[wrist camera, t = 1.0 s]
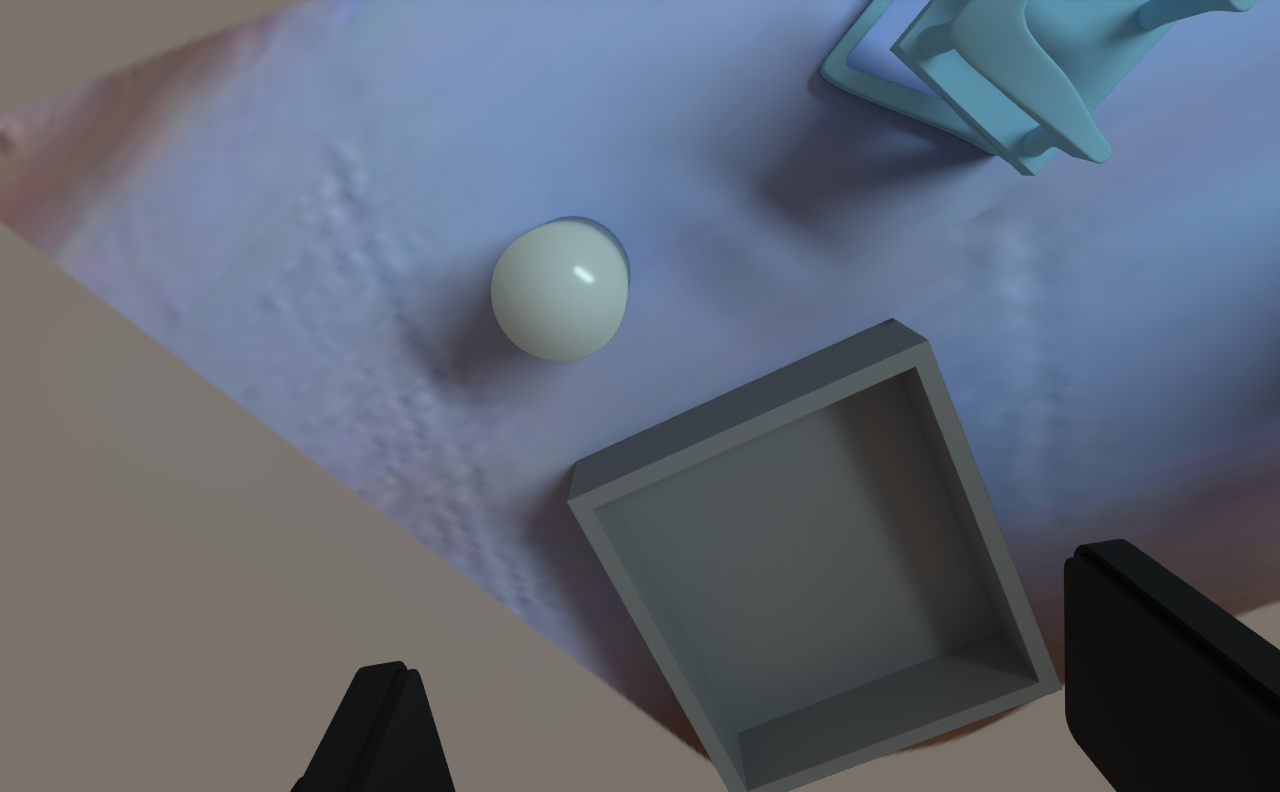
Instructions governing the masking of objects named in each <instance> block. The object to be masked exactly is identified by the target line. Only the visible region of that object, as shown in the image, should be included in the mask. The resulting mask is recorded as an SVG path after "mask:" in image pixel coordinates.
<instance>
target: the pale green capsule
mask: <svg viewBox="0 0 1280 792" xmlns="http://www.w3.org/2000/svg"><path fill="white" fill-rule="evenodd" d="M629 282H630V266H629V261H628V257H627V254H626V252H625V249H624V247H623V246H622V244H621V242H620V241H619V239H618V238H617V237H616V236H615V235H614V234H613V233H612V232H611V231H610V230H609V229H608V228H606V227H605V226H604V225H602V224H600V223H599V222H596V221H594V220H592V219H588V218H585V217H578V216H567V217H560V218H557V219H554V220H551V221H549V222H547V223H545V224H543V225H541V226H539V227H537V228H535V229H534V230H532V231H530V232H528V233H526V234H524V235H523V236H521V237H519V238H518V239H517V240H515V241H514V242H513V243H512V244H511V245H510V246H509V247H508V248H507V249H506V250H505V251H504V253H503V254H502V256H501V257H500V259H499V261H498V263H497V265H496V267H495V270H494V273H493V277H492V282H491V301H492V307H493V311H494V314H495V317H496V319H497V321H498V323H499V325H500V327H501V328H502V330H503V332H504V333H505V334H506V335H507V337H508V338H509V339H510V340H511V341H512V342H513V343H514V344H515V345H516V346H518V347H519V348H521V349H522V350H523V351H525V352H527V353H529V354H530V355H533V356H535V357H538V358H541V359H545V360H549V361H573V360H577V359H581V358H584V357H586V356H589V355H591V354H592V353H594V352H596V351H598V350H599V349H600V348H602V347H603V346H604V345H605V344H606V343H607V342H608V341H609V340H610V339H611V338H612V337H613V335H614V334H615V333H616V331H617V329H618V327H619V326H620V323H621V321H622V319H623V315H624V312H625V307H626V301H627V295H628V289H629Z"/></svg>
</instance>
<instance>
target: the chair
mask: <svg viewBox="0 0 1280 792" xmlns="http://www.w3.org/2000/svg"><path fill="white" fill-rule="evenodd" d="M893 1H894V0H872V1H871V2H870V4H869V5H868V6H867V8H866V9H865V10H864V11H863V13H862V14H861V15H860V16H859V18H858V19H857V20H856V21H855V23H854V24H853V25H852V26H851V28H850V29H849V30H848V31H847V33H846V34H845V35H844V36H843V38H842V39H841V40H840V41H839V43H838V44H837V45H836V46H835V48H834V49H833V50H832V51H831V53H830V54H829V55H828V56H827V58H826V59H825V60H824V62H823V63H822V65H821V69H820V73H821V75H822V77H823V78H824V79H826V80H827V81H828V82H829V83H831V84H833V85H835V86H836V87H838V88H840V89H842V90H844V91H846V92H848V93H851V94H853V95H855V96H858V97H860V98H863V99H865V100H867V101H870V102H872V103H875V104H877V105H880V106H882V107H885V108H887V109H890V110H893V111H895V112H898V113H900V114H903V115H905V116H908V117H911V118H913V119H916V120H918V121H921V122H923V123H926V124H928V125H931V126H933V127H936V128H938V129H941V130H943V131H945V132H948V133H950V134H953V135H955V136H957V137H959V138H961V139H963V140H965V141H967V142H969V143H971V144H973V145H974V146H976V147H978V148H980V149H982V150H984V151H985V152H987V153H990V154H993V155H996V154H997V155H998V156H999V157H1001V158H1002V159H1004V160H1005V161H1007V162H1008V163H1010V164H1011V165H1012V166H1013V167H1014V168H1015V169H1016V170H1017V171H1018V172H1019V173H1021V174H1022V175H1025V176H1035V175H1036V174H1037V173H1038V172H1039V171H1040V170H1041V169H1042V168H1043V167H1044V165H1045V164H1046V163H1047V162H1048V161H1049V160H1050V159H1051V158H1052V157H1053V156H1054V155H1055V153H1056V152H1057V151H1058V150H1059V149H1061V150H1062V151H1064V152H1066V153H1067V154H1069V155H1070V156H1072V157H1076V158H1080V159H1084V160H1088V161H1091V162H1095V163H1098V164H1100V163H1105V162H1107V161H1108V160H1109V159H1110V157H1111V148H1110V146H1109V144H1108V143H1107V141H1106V140H1105V138H1104V137H1103V136H1102V134H1101V133H1100V131H1099V130H1098V128H1097V127H1096V125H1095V124H1094V122H1093V120H1092V118H1091V116H1090V114H1091V112H1092V111H1093V110H1094V109H1095V108H1096V107H1097V106H1098V105H1099V104H1100V103H1101V102H1102V100H1103V99H1104V98H1105V97H1106V96H1107V95H1108V94H1109V93H1110V92H1111V91H1112V90H1113V88H1114V87H1115V86H1116V85H1117V84H1118V83H1119V82H1120V81H1121V80H1122V79H1123V78H1124V77H1125V76H1126V75H1127V74H1128V72H1129V71H1130V70H1131V69H1132V68H1133V67H1134V66H1135V65H1136V64H1137V63H1138V62H1139V61H1140V60H1141V59H1142V58H1143V57H1144V56H1145V55H1146V54H1147V53H1148V52H1149V51H1150V50H1151V49H1152V48H1153V47H1154V46H1155V44H1156V43H1157V42H1158V41H1159V40H1160V39H1161V38H1162V37H1163V36H1164V35H1165V34H1166V32H1167V31H1168V30H1169V29H1170V28H1171V27H1172V26H1173V25H1174V24H1175V23H1176V22H1177V20H1180V19H1183V18H1187V17H1190V16H1194V15H1198V14H1201V13H1205V12H1209V11H1231V12H1244V11H1248V10H1249V9H1251V8H1252V7H1253V5H1254V3H1255V0H930V1H929V2H928V4H927V5H926V6H925V7H924V8H923V10H922V11H921V12H920V13H919V14H918V15H917V17H916V18H915V19H914V20H913V21H912V23H911V24H910V25H909V26H908V28H907V29H906V30H905V31H904V32H903V34H902V35H901V36H900V37H899V39H898V40H897V41H896V42H895V43H894V45H893V46H892V47H891V48H890V49H889V50H890V51H891V52H892V53H894V54H895V55H896V56H897V57H898V58H899V59H900V60H901V61H902V62H903V63H904V64H905V65H906V66H907V67H908V68H909V69H910V70H912V71H913V72H914V73H915V74H916V75H917V76H918V77H919V78H920V79H921V80H923V81H924V82H925V83H926V84H927V85H928V86H929V87H931V88H932V89H933V90H934V91H935V92H936V93H937V94H938V95H939V96H940V97H941V98H942V99H943V100H942V99H939V98H936V97H933V96H930V95H928V94H925V93H922V92H919V91H916V90H913V89H910V88H907V87H904V86H901V85H898V84H895V83H893V82H890V81H887V80H884V79H881V78H878V77H875V76H872V75H869V74H866V73H863V72H861V71H858V70H855V69H852V68H850V67H849V66H848V65H847V64H846V63H845V62H846V60H847V57H848V55H849V54H850V53H851V52H852V50H853V49H854V48H855V47H856V46H857V44H858V43H859V42H860V41H861V40H862V38H863V37H864V36H865V35H866V34H867V32H868V31H869V30H870V29H871V28H872V26H873V25H874V24H875V23H876V21H877V20H878V19H879V18H880V17H881V15H882V14H883V13H884V12H885V11H886V9H887V8H888V7H889V6H890V5H891V3H892V2H893Z"/></svg>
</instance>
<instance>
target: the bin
mask: <svg viewBox="0 0 1280 792" xmlns="http://www.w3.org/2000/svg"><path fill="white" fill-rule="evenodd" d="M567 503H568V505H569V506H570V508H571V510H572V512H573V514H574V515H575V517H576V519H577V521H578V522H579V524H580V526H581V528H582V530H583V531H584V533H585V535H586V537H587V539H588V540H589V542H590V544H591V546H592V548H593V549H594V551H595V553H596V555H597V556H598V558H599V560H600V562H601V564H602V565H603V567H604V569H605V571H606V573H607V574H608V576H609V578H610V580H611V581H612V583H613V585H614V587H615V589H616V590H617V592H618V594H619V596H620V598H621V599H622V601H623V603H624V605H625V606H626V608H627V610H628V612H629V614H630V615H631V617H632V619H633V621H634V623H635V624H636V626H637V628H638V630H639V632H640V633H641V635H642V637H643V639H644V640H645V642H646V644H647V646H648V648H649V649H650V651H651V653H652V655H653V657H654V658H655V660H656V662H657V664H658V665H659V667H660V669H661V671H662V673H663V674H664V676H665V678H666V680H667V682H668V683H669V685H670V687H671V689H672V690H673V692H674V694H675V696H676V698H677V699H678V701H679V703H680V705H681V707H682V708H683V710H684V712H685V714H686V716H687V717H688V719H689V721H690V723H691V724H692V726H693V728H694V730H695V732H696V733H697V735H698V737H699V739H700V741H701V742H702V744H703V746H704V748H705V749H706V751H707V753H708V755H709V757H710V758H711V760H712V762H713V764H714V766H715V767H716V769H717V771H718V773H719V774H720V776H721V778H722V780H723V782H724V783H725V785H726V787H727V789H728V790H729V792H787V791H790V790H792V789H795V788H798V787H800V786H803V785H806V784H808V783H811V782H814V781H817V780H819V779H822V778H825V777H827V776H830V775H833V774H835V773H838V772H841V771H844V770H846V769H849V768H852V767H854V766H857V765H859V764H862V763H865V762H868V761H870V760H873V759H876V758H879V757H881V756H884V755H887V754H889V753H892V752H895V751H897V750H900V749H903V748H906V747H908V746H911V745H914V744H916V743H919V742H922V741H924V740H927V739H930V738H933V737H935V736H938V735H941V734H943V733H946V732H949V731H951V730H954V729H957V728H959V727H962V726H965V725H968V724H970V723H973V722H976V721H978V720H981V719H984V718H986V717H989V716H992V715H995V714H997V713H1000V712H1003V711H1005V710H1008V709H1011V708H1013V707H1016V706H1019V705H1022V704H1024V703H1027V702H1030V701H1032V700H1035V699H1038V698H1040V697H1043V696H1046V695H1048V694H1051V693H1054V692H1056V691H1059V690H1062V687H1061V685H1060V682H1059V679H1058V677H1057V674H1056V672H1055V669H1054V666H1053V664H1052V661H1051V659H1050V656H1049V653H1048V651H1047V648H1046V646H1045V643H1044V640H1043V638H1042V635H1041V633H1040V630H1039V627H1038V625H1037V622H1036V620H1035V617H1034V614H1033V612H1032V609H1031V607H1030V604H1029V601H1028V599H1027V596H1026V593H1025V591H1024V588H1023V586H1022V583H1021V580H1020V578H1019V575H1018V573H1017V570H1016V567H1015V565H1014V562H1013V560H1012V557H1011V554H1010V552H1009V549H1008V547H1007V544H1006V541H1005V539H1004V536H1003V534H1002V531H1001V528H1000V526H999V523H998V521H997V518H996V515H995V513H994V510H993V508H992V505H991V502H990V500H989V497H988V495H987V492H986V489H985V487H984V484H983V481H982V479H981V476H980V474H979V471H978V468H977V466H976V463H975V461H974V458H973V455H972V453H971V450H970V448H969V445H968V442H967V440H966V437H965V435H964V432H963V429H962V427H961V424H960V422H959V419H958V416H957V414H956V411H955V409H954V406H953V403H952V401H951V398H950V396H949V393H948V390H947V388H946V385H945V383H944V380H943V377H942V375H941V372H940V370H939V367H938V364H937V362H936V359H935V356H934V354H933V351H932V349H931V346H930V343H929V341H928V340H927V339H926V338H924V337H923V336H921V335H919V334H918V333H916V332H914V331H913V330H911V329H910V328H908V327H906V326H905V325H903V324H901V323H900V322H898V321H897V320H895V319H893V318H891V319H889V320H887V321H885V322H883V323H880V324H878V325H876V326H874V327H872V328H869V329H867V330H865V331H863V332H861V333H858V334H856V335H854V336H852V337H850V338H847V339H845V340H843V341H841V342H839V343H836V344H834V345H832V346H830V347H828V348H825V349H823V350H821V351H819V352H817V353H814V354H812V355H810V356H808V357H806V358H803V359H801V360H799V361H797V362H795V363H792V364H790V365H788V366H786V367H784V368H781V369H779V370H777V371H775V372H773V373H770V374H768V375H766V376H764V377H762V378H759V379H757V380H755V381H753V382H751V383H748V384H746V385H744V386H742V387H740V388H737V389H735V390H733V391H731V392H729V393H726V394H724V395H722V396H720V397H717V398H715V399H713V400H711V401H709V402H706V403H704V404H702V405H700V406H698V407H695V408H693V409H691V410H689V411H687V412H684V413H682V414H680V415H678V416H676V417H673V418H671V419H669V420H667V421H665V422H662V423H660V424H658V425H656V426H654V427H651V428H649V429H647V430H645V431H643V432H640V433H638V434H636V435H634V436H632V437H629V438H627V439H625V440H623V441H621V442H618V443H616V444H614V445H612V446H610V447H607V448H605V449H603V450H601V451H599V452H596V453H594V454H592V455H590V456H588V457H585V458H583V459H581V460H579V461H577V462H576V466H575V470H574V474H573V478H572V482H571V486H570V490H569V494H568V498H567Z"/></svg>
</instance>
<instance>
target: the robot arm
mask: <svg viewBox="0 0 1280 792" xmlns="http://www.w3.org/2000/svg"><path fill="white" fill-rule="evenodd" d="M1064 618H1065V714H1066V720H1067V724H1068V727H1069V729H1070V732H1071V734H1072V735H1073V738H1074V739H1075V741H1076V742H1077V744H1078V745H1079V746H1080V747H1081V749H1082V750H1083V751H1084V752H1085V753H1086V755H1087V756H1088V757H1089V758H1090V760H1091V761H1092V762H1093V763H1094V765H1095V766H1096V767H1097V768H1098V769H1099V771H1100V772H1101V773H1102V774H1103V776H1104V777H1105V778H1106V779H1107V780H1108V782H1109V783H1110V784H1111V785H1112V787H1113V788H1114V789H1115V790H1116V792H1280V650H1279V649H1278V648H1276V647H1275V646H1273V645H1272V644H1271V643H1269V642H1268V641H1266V640H1265V639H1264V638H1262V637H1261V636H1259V635H1258V634H1257V633H1255V632H1254V631H1253V630H1251V629H1250V628H1248V627H1247V626H1246V625H1244V624H1243V623H1241V622H1240V621H1239V620H1237V619H1236V618H1234V617H1233V616H1232V615H1230V614H1229V613H1227V612H1226V611H1225V610H1223V609H1222V608H1220V607H1219V606H1218V605H1216V604H1215V603H1213V602H1212V601H1211V600H1209V599H1208V598H1206V597H1205V596H1204V595H1202V594H1201V593H1199V592H1198V591H1197V590H1195V589H1194V588H1192V587H1191V586H1190V585H1188V584H1187V583H1186V582H1184V581H1183V580H1181V579H1180V578H1179V577H1177V576H1176V575H1174V574H1173V573H1172V572H1170V571H1169V570H1167V569H1166V568H1165V567H1163V566H1162V565H1160V564H1159V563H1158V562H1156V561H1155V560H1153V559H1152V558H1151V557H1149V556H1148V555H1146V554H1145V553H1144V552H1142V551H1141V550H1139V549H1138V548H1137V547H1135V546H1134V545H1132V544H1131V543H1130V542H1128V541H1126V540H1124V539H1115V540H1109V541H1103V542H1097V543H1092V544H1086V545H1080V546H1079V547H1077V548H1076V550H1075V553H1074V557H1072V558H1068V559H1067V560H1066V562H1065V565H1064ZM291 792H455V788H454V785H453V782H452V778H451V775H450V772H449V768H448V765H447V762H446V759H445V755H444V752H443V749H442V746H441V742H440V739H439V736H438V732H437V729H436V726H435V722H434V719H433V716H432V712H431V709H430V706H429V702H428V699H427V696H426V693H425V689H424V686H423V682H422V679H421V676H420V674H419V672H418V671H417V670H416V669H410V670H407V667H406V666H405V665H404V663H403V662H401V661H395V662H389V663H383V664H377V665H371V666H365V667H362V668H360V669H359V670H358V671H357V673H356V674H355V676H354V678H353V680H352V682H351V684H350V686H349V688H348V690H347V692H346V694H345V696H344V698H343V700H342V702H341V704H340V705H339V708H338V710H337V711H336V713H335V715H334V717H333V719H332V721H331V723H330V725H329V727H328V729H327V731H326V733H325V735H324V737H323V739H322V741H321V742H320V744H319V747H318V748H317V750H316V752H315V754H314V756H313V758H312V760H311V762H310V764H309V766H308V768H307V770H306V772H305V774H304V776H303V777H301V778H300V779H298V781H297V782H296V784H295V785H294V787H293V788H292V790H291Z"/></svg>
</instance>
